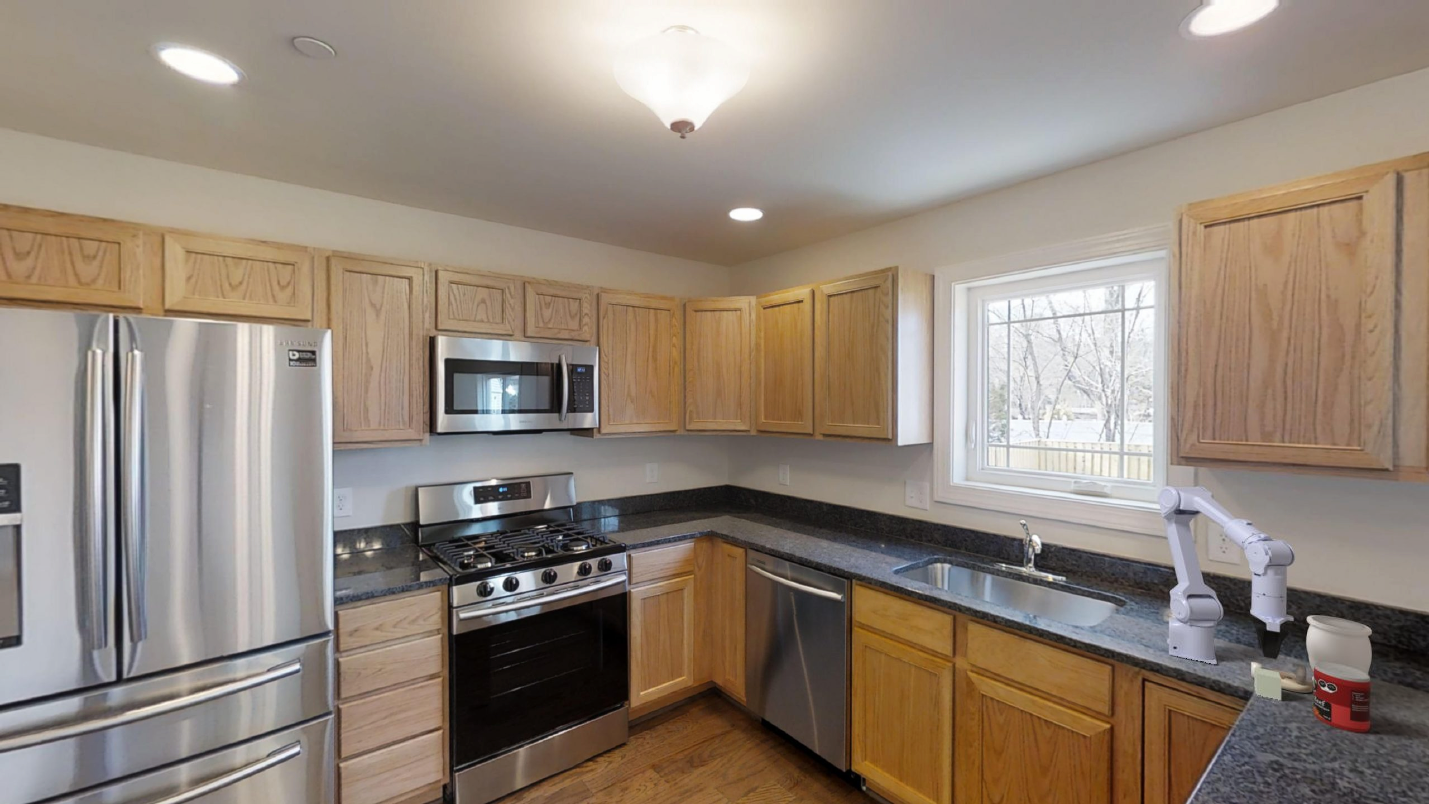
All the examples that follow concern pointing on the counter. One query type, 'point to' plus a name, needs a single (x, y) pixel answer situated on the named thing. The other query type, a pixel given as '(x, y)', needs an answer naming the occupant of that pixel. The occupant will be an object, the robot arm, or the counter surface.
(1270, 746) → the counter surface
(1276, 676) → the link block
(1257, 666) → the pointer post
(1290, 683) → the disc
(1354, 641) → the jar
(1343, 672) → the canned food
